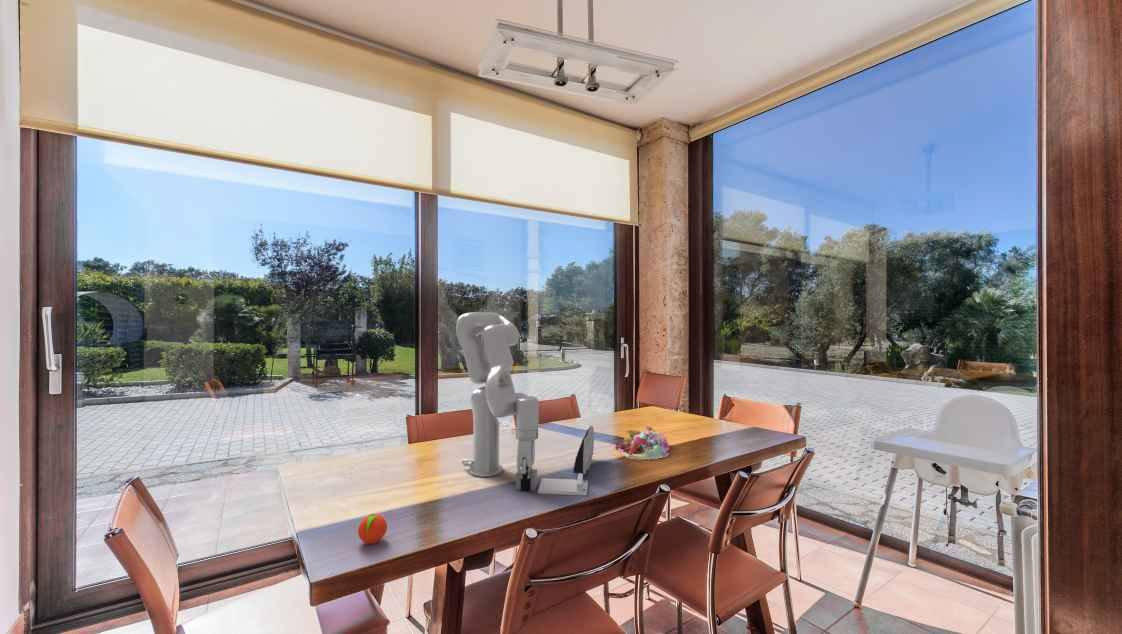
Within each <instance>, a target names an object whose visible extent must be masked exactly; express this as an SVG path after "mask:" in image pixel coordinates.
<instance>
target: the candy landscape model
mask: <svg viewBox="0 0 1122 634" xmlns="http://www.w3.org/2000/svg"><path fill="white" fill-rule="evenodd" d="M626 433H627V435H628V437H624V438H623V439H622V441H619V442H618V443H617V444H616V445H615V446H614V447H615V449H616V450H618V451H619V452H621V455H622V456H624V457H625V458H628V459H632V460H638V461H645V460H646V459H647V461H651V460H650V459H657V460H659V459H658V458H663V457H666V456H668V455H669V456H670V454H669V453H668V452H666V451H668V450H670V449H671V447H670V446H669V445H670V444H669V442H668V440H667V435H665V436H664V433H663V432H662V434H661V432H659V434H658V433H657V432H656V431H655V429H654V428H653V427H652V426H651V425H650V426H649V425H648V426H646V427H645V430H644V431H642V432H641V431H639V430H635V429H629V430H627V431H626ZM669 456H668V457H669ZM666 458H667V457H666ZM663 459H664V458H663Z"/></svg>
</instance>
